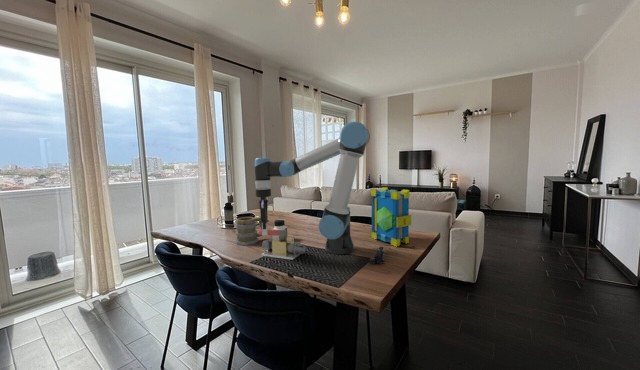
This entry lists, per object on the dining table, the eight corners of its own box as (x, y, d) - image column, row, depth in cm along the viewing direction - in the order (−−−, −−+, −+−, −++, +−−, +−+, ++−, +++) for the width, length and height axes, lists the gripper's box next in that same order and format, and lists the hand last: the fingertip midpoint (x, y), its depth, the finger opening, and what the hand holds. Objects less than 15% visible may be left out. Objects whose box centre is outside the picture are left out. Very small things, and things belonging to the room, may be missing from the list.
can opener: (383, 267, 118) (383, 254, 117) (368, 265, 121) (368, 252, 120) (389, 254, 134) (389, 243, 134) (375, 252, 137) (375, 241, 136)
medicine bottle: (283, 241, 159) (283, 221, 158) (272, 240, 160) (271, 221, 159) (287, 238, 166) (286, 218, 165) (276, 237, 167) (275, 218, 166)
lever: (288, 237, 139) (287, 229, 139) (285, 240, 135) (285, 231, 135) (260, 236, 142) (260, 228, 142) (257, 238, 139) (257, 230, 138)
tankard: (238, 246, 151) (236, 220, 150) (233, 241, 162) (232, 216, 161) (272, 240, 161) (271, 216, 159) (265, 236, 172) (264, 212, 170)
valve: (309, 251, 140) (308, 238, 139) (297, 260, 128) (297, 245, 127) (271, 247, 149) (271, 234, 148) (257, 254, 137) (256, 241, 136)
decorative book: (395, 249, 141) (395, 191, 138) (366, 238, 161) (365, 188, 158) (413, 244, 148) (414, 189, 145) (384, 234, 168) (384, 186, 165)
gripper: (257, 187, 141) (259, 232, 143) (253, 190, 129) (255, 238, 130) (271, 187, 142) (273, 231, 144) (269, 189, 129) (271, 238, 131)
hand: (264, 235), depth 137 cm, fingers closed
